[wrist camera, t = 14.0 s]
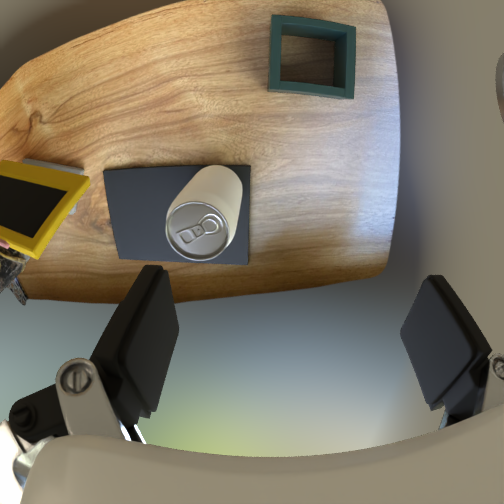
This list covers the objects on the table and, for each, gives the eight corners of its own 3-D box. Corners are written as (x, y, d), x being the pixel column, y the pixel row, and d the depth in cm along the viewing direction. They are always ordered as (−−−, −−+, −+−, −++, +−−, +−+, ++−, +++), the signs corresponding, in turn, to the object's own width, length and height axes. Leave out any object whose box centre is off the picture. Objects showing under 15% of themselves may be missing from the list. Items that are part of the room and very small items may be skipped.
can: (252, 200, 33) (248, 248, 23) (207, 221, 35) (186, 274, 25) (227, 154, 31) (210, 182, 20) (182, 179, 32) (146, 218, 22)
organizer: (342, 36, 22) (356, 26, 18) (340, 99, 27) (353, 99, 23) (269, 27, 23) (271, 14, 18) (267, 91, 27) (269, 89, 23)
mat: (250, 165, 32) (250, 166, 31) (247, 263, 39) (247, 265, 38) (104, 170, 32) (102, 171, 31) (120, 257, 39) (119, 259, 38)
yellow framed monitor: (102, 169, 32) (26, 216, 18) (99, 219, 36) (37, 281, 22) (16, 153, 29) (-51, 187, 16) (17, 195, 33) (-43, 237, 19)
